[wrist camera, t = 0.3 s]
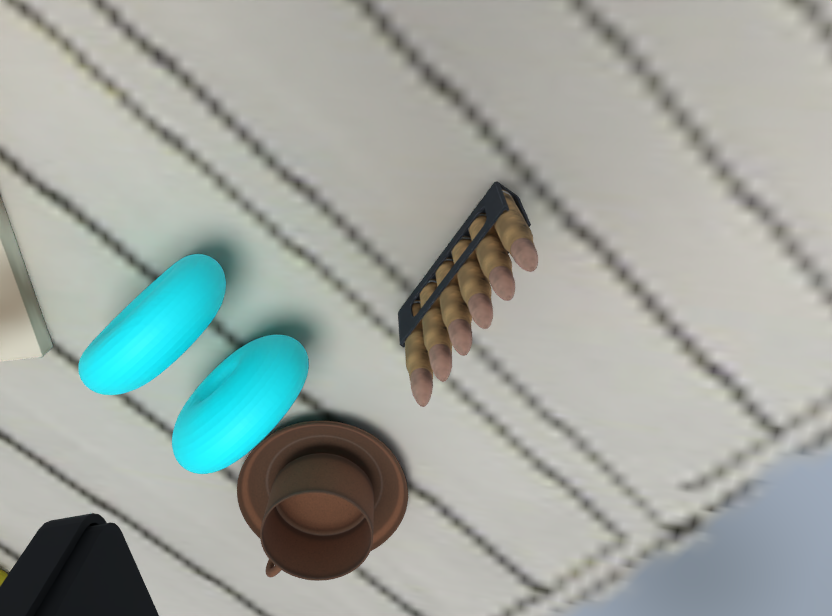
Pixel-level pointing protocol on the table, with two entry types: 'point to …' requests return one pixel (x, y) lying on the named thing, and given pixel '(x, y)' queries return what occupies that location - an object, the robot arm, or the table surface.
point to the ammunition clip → (464, 287)
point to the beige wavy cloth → (18, 303)
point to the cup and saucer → (321, 498)
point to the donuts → (222, 389)
